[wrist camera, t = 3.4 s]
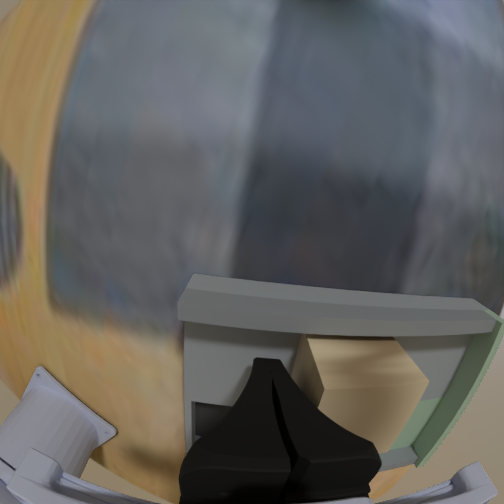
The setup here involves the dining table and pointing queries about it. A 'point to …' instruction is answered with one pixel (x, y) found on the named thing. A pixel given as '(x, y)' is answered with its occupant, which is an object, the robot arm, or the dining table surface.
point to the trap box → (332, 323)
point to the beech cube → (360, 383)
